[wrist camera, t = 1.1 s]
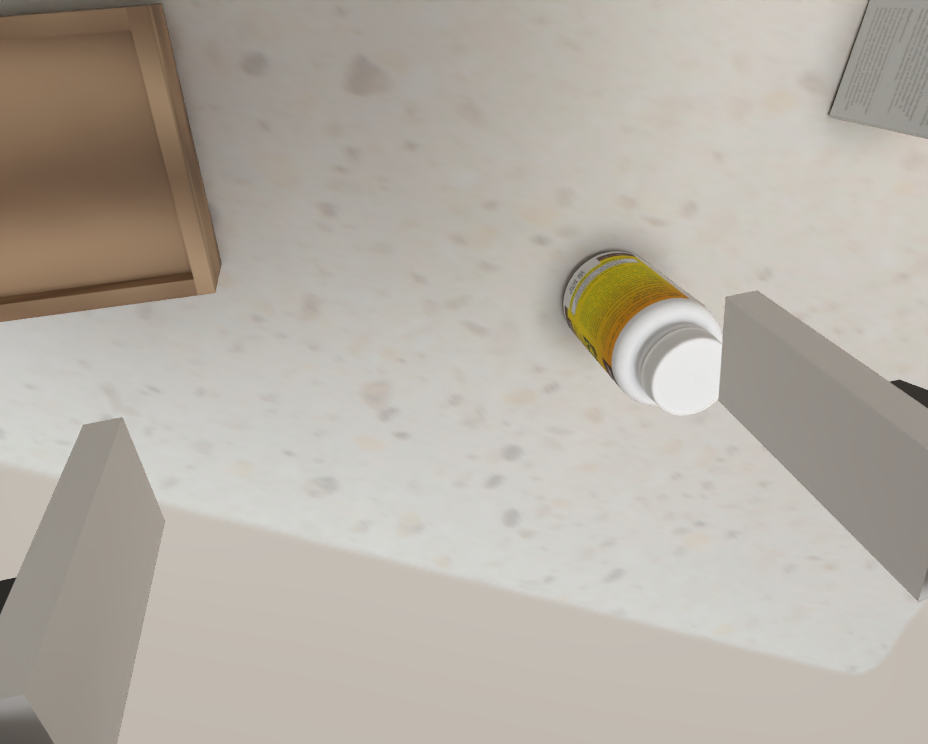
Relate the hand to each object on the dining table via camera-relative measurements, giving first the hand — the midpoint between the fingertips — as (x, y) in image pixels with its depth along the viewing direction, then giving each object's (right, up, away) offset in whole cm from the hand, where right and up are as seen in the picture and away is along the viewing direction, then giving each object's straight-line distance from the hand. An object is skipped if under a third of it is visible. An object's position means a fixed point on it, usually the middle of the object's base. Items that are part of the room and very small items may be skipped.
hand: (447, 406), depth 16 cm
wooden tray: (-18, +10, +17) cm, 26 cm away
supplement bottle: (+8, +5, +26) cm, 28 cm away
